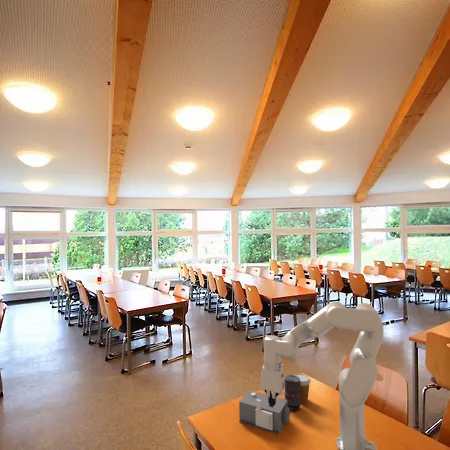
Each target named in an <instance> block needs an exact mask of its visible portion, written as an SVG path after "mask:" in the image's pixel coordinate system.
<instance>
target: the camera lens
mask: <svg viewBox="0 0 450 450" xmlns="http://www.w3.org/2000/svg"><path fill="white" fill-rule="evenodd" d="M294 375H295V374H288V375H285V376H284V399H286V400H288V407H289V408H290V412H298V411H300V407H301V403H300V402H301V398H300V390H301V381H300V378H299V377H297V376H294Z"/></svg>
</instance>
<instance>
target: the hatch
mask: <svg viewBox="0 0 450 450" xmlns="http://www.w3.org/2000/svg"><path fill="white" fill-rule="evenodd" d="M255 412H256V426H259V427H262V428H266V429H269V430H273V413H270V412H267V411H264V410H261V400H259V399H257V400H256V409H255Z"/></svg>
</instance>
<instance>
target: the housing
mask: <svg viewBox="0 0 450 450" xmlns="http://www.w3.org/2000/svg"><path fill="white" fill-rule="evenodd" d="M257 399H259V400H261V410H264V411H267V412H270V413H273V430H269V429H266V428H262V427H259V426H256V412H255V409H256V400H257ZM238 403H239V404H238V405H239V407H238V408H239V414H238V415H239V419H238V420H239V423H241V424H244V425H246V426H249V427H253V428H256V429H258V430H262V431H265V432H268V433H271V434H274V435H276V436H277V435H278V436H279V434H281V432H282V431H283V429H284V426H285V425H288V424H289V422H290V419H291V418H290V417H291V411H290V408H289V407H288V400H286V399H285V398H282V397H278V396H277V397H276V404H275V405H274V406H273V408H272V407H269V403H268V396H267V394H266V393H264V392H263V393H262V392H258V391H255V390H251V389H249V390H248V391H247V392H246V393H245V395H244V396H243V397H242V398H241V399H240V400H239V402H238Z"/></svg>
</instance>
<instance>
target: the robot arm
mask: <svg viewBox="0 0 450 450" xmlns="http://www.w3.org/2000/svg"><path fill="white" fill-rule="evenodd" d="M333 328H337V329H341V330H348V331H349V330H351V331H357V332H359V335H358V337H357V338H356V339H357V340H356V342H355V344H354V346H353V348H352V349H351V352H350V354H349V363H350V367H345V368H344V369H342V370H341V371H340V372H339V373H338V374H339V375H338V393H339V395H338V397H339V435H338V437H337V438H336V441H335V442H336V444H335V445H336V447H337V448H338V450H378V446H377V445H375V442H374V441H370V440H368V439H367V435H366V434H365V433H366V432H365V402H366V401H367V399H368V397H369V395H370V393H371V391H372V390H373V387H374V384H375V382H376V380H377V377H378V374H379V373H378V372H379V367H378V365H377V362H376V357H377V355H378V352H379V350H380V347H381V345H382V342H383V339H384V324H383V321H382V318H381V316H380V315H379V313H378V311H377V310H376V308H374V307H373V306H372V305H371V304H369V303H366V302H361V303H359V304H357V306H355V308H349V307H345V305H344V304H343V303H342V302H339V301H331V302H329V303H328V304H326V305H325V306H324V307H323V308H321V309H320V310H319V311H317V312H316V313H315V314H314V315H312V316H311V317H309V318H308V319H306V320H304V321H303V322H301V323H299V324H298V325H296V326H295V327H294V328H292V329H291V330H289V331H288V332H286V334H285V335H284V336H283V338H282V339H281V338H280V337H279V336H277V335H273V334H271V335H270V334H268V335H266V336H265V337H264V339H263V365H262V367H261V374H260V383H259V384H260V390H261V391H262V392H264V394H267V396H268V403H269V407H272V408H273V406H274V405H275V404H276V397H278V396H280V397H282V396H285V386H284V379H285V375H284V369H283V368H284V367H285V365H284V363H282V360H281V359H282V358H281V357H283V358H285V359H294V358H295V357H296V356H297V355H298V351H299V346H301V345H302V344H303V343H305V342H306V341H307V340H309V339H312V338H320V337H323V336H324V335H325V334H327V332H328V333H329V331H330V330H332V329H333Z"/></svg>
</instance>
